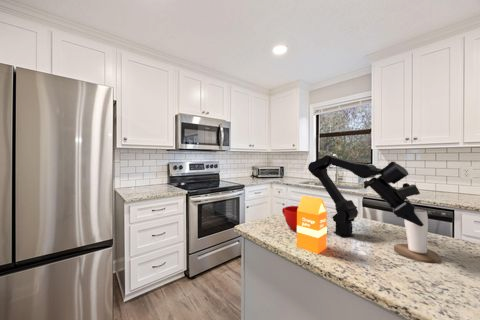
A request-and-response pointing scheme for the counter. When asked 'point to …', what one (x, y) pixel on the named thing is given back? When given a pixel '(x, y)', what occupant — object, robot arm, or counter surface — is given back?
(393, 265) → the counter surface
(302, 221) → the orange juice
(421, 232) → the white tapered cylinder
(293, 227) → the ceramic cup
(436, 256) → the walnut coaster
